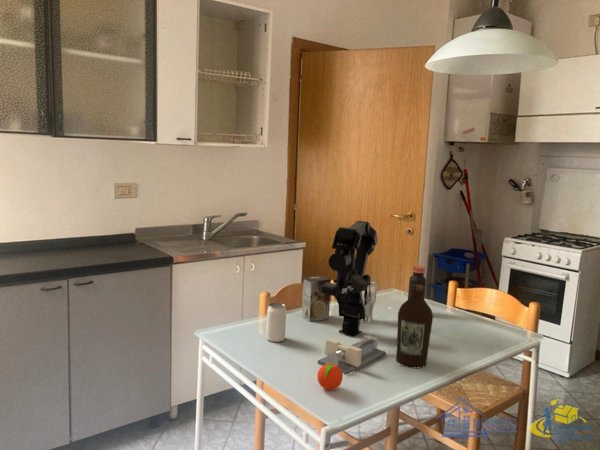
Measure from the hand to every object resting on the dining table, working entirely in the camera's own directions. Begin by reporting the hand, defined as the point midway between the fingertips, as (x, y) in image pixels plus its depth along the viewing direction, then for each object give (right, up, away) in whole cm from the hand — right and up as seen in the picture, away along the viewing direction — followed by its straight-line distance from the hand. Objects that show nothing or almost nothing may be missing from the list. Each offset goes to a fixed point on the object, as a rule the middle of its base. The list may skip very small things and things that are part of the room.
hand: (342, 310), depth 166 cm
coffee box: (-8, -8, +28) cm, 30 cm away
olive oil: (+21, -15, -10) cm, 27 cm away
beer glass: (+11, -9, +28) cm, 32 cm away
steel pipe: (+2, -14, -10) cm, 17 cm away
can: (-23, -11, +3) cm, 25 cm away
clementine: (-7, -16, -31) cm, 36 cm away
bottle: (+34, -9, +41) cm, 53 cm away
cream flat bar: (-1, -13, -14) cm, 19 cm away
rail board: (+2, -14, -10) cm, 17 cm away
